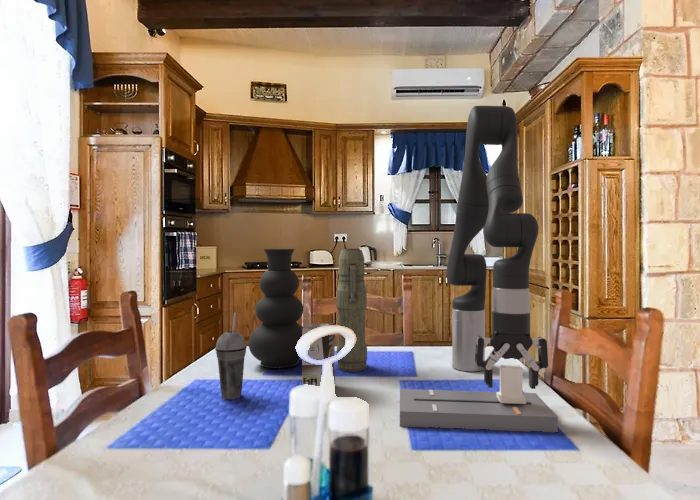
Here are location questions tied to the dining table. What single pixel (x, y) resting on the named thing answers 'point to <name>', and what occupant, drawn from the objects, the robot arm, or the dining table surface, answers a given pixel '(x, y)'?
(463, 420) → the fader console
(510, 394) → the fader tab
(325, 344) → the dark grey printed box
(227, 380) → the beverage cup
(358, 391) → the dining table surface
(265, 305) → the vase
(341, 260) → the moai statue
